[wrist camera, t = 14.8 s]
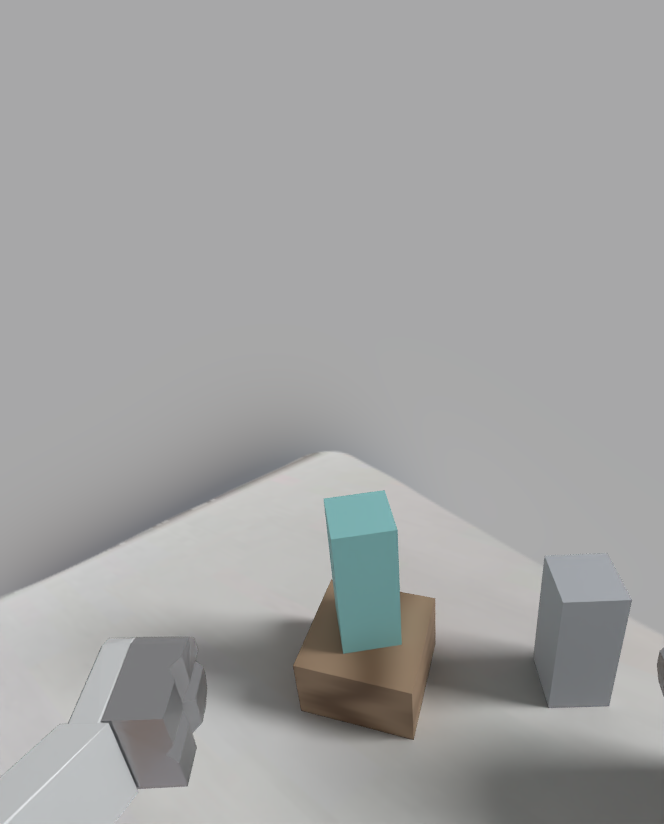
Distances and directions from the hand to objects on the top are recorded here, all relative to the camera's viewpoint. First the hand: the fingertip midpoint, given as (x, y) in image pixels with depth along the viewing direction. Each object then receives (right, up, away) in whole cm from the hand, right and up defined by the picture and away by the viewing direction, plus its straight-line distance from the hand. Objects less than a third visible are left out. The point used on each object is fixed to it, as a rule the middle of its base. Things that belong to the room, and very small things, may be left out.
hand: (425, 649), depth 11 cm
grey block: (+15, -15, +32) cm, 39 cm away
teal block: (+1, -11, +32) cm, 34 cm away
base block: (+1, -15, +34) cm, 38 cm away
